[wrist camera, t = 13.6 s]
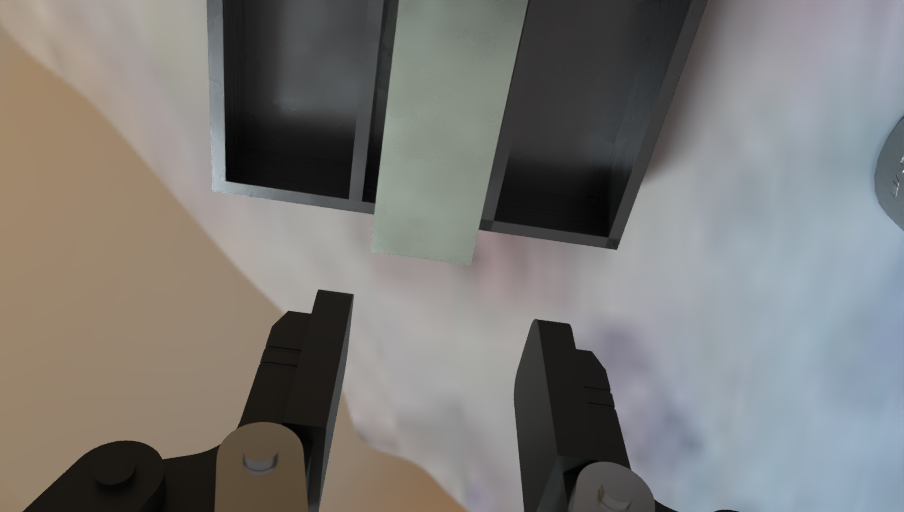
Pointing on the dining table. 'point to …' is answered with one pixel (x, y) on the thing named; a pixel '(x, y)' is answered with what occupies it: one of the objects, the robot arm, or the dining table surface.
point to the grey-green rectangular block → (443, 124)
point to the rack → (523, 125)
